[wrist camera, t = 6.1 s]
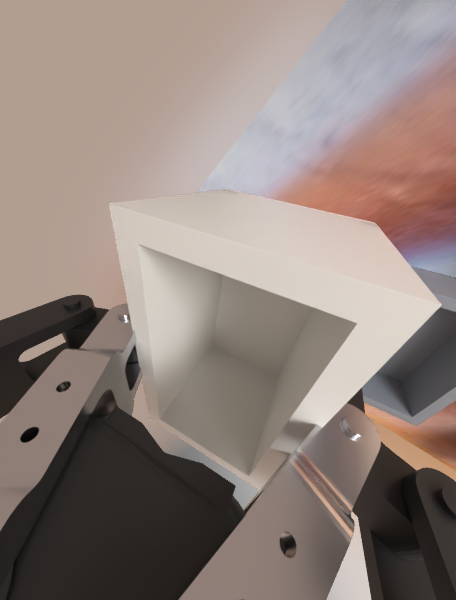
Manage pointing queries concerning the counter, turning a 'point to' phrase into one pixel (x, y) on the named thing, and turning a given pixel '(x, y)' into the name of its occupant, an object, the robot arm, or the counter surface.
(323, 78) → the counter surface
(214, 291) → the white crate
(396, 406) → the slate crate
